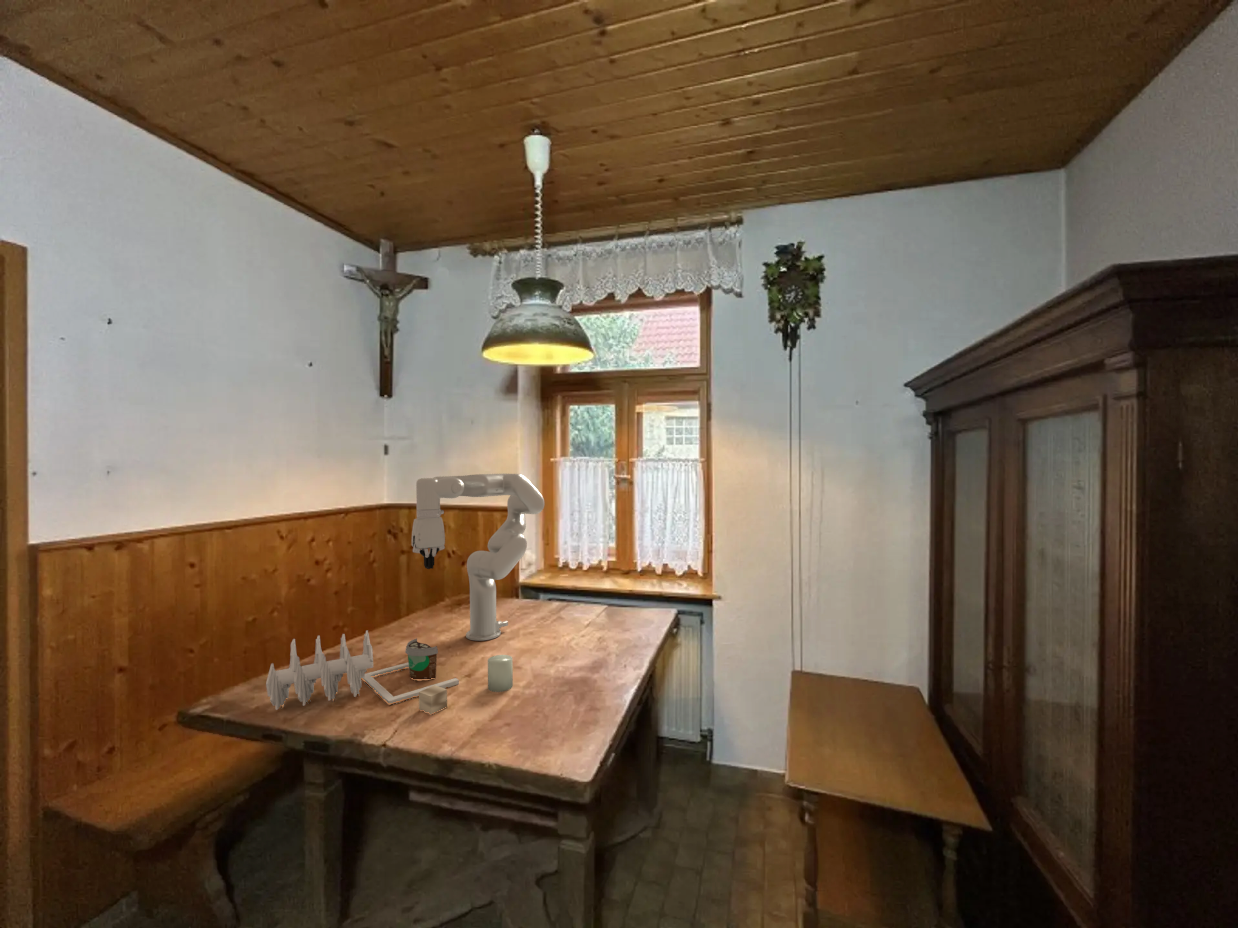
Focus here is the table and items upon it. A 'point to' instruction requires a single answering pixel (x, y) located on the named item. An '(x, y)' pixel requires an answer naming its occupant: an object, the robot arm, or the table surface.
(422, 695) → the birch block
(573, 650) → the table surface
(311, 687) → the spiral staircase
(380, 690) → the corral
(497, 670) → the pale green cylinder
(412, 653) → the food container
